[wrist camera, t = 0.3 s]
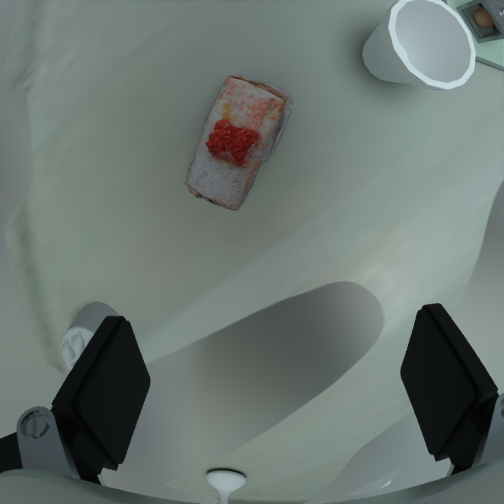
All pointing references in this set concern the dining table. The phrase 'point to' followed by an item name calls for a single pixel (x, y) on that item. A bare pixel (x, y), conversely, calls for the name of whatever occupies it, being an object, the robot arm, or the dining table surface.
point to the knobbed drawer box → (500, 8)
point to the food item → (237, 140)
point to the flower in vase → (225, 483)
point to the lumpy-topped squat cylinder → (83, 330)
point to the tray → (490, 53)
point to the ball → (483, 18)
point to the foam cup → (421, 46)
